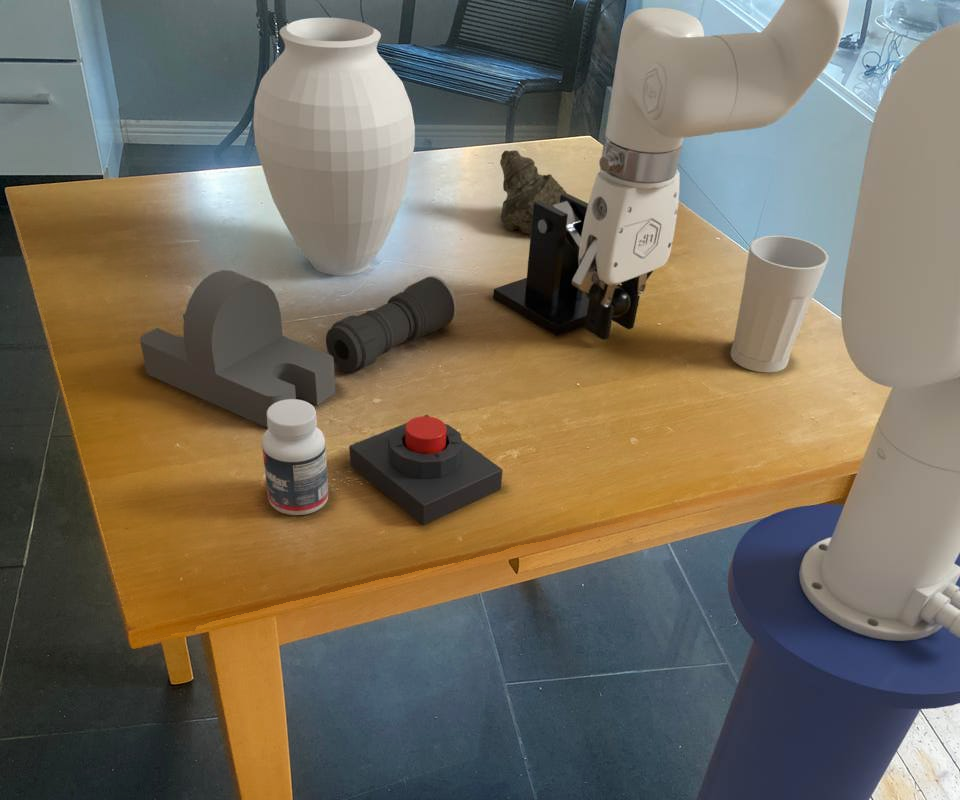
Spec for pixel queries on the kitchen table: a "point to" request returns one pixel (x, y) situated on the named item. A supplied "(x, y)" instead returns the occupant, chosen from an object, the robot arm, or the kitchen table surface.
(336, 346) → the flashlight
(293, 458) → the pill bottle
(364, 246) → the vase
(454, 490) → the button block
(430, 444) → the button
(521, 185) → the brown rock
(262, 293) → the bracket
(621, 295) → the lever
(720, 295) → the kitchen table surface
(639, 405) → the kitchen table surface
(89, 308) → the kitchen table surface
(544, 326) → the bracket
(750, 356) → the cup
